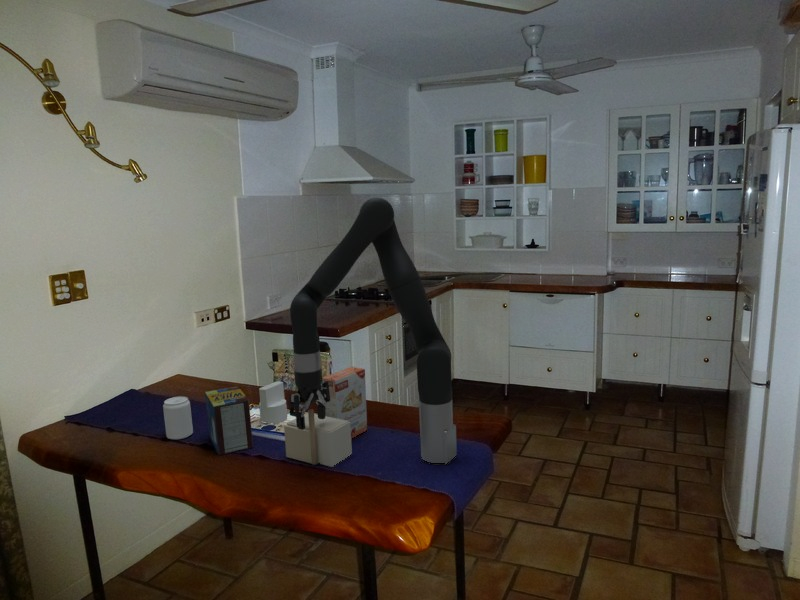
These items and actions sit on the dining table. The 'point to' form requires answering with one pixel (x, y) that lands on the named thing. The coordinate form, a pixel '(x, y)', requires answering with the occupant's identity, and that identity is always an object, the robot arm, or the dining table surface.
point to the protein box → (229, 420)
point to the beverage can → (177, 418)
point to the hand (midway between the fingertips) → (311, 423)
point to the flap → (302, 441)
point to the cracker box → (348, 398)
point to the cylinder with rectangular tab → (273, 403)
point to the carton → (330, 439)
